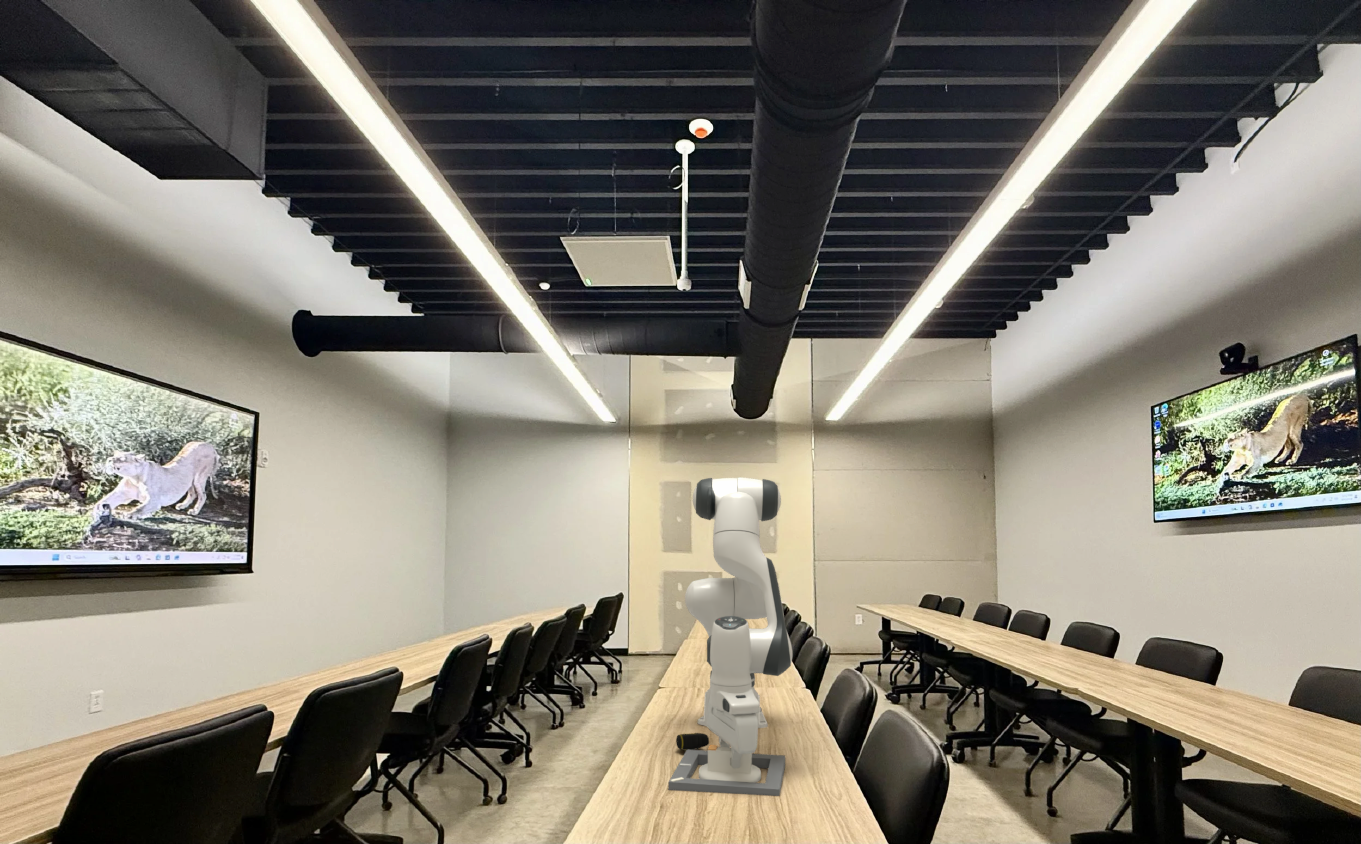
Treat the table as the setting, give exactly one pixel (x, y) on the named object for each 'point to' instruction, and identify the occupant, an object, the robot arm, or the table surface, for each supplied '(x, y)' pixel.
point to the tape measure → (692, 741)
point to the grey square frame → (698, 757)
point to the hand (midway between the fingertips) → (730, 763)
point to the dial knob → (728, 766)
